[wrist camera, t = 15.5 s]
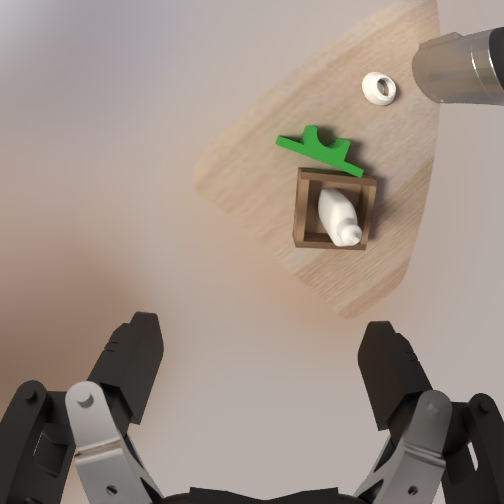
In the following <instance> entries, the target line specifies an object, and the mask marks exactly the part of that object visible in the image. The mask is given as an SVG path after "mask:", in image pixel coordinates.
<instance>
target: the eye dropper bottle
mask: <svg viewBox="0 0 504 504" xmlns="http://www.w3.org/2000/svg"><path fill="white" fill-rule="evenodd" d="M318 213H319V217H320V220H321V222H322V224H323V226H324V228H325V229H326V231H327V233H328V234H329V236H330V238H331V239H332V241H333V243H334V244H335V245H336V246H339V247H340V246H351V245H355V244H357V243H358V242H359V241H360V240H361V237H362V231H361V229H360V227H359V226H358V225H357V216H356V212H355V210H354V207H353V205H352V203H351V202H350V201H349V200H348V199H347V198H346V197H345V196H344V195H343V194H341V193H340V192H339V191H338V190H337V189H336V188H326V189H322V191H321V192H320V195H319V199H318Z"/></svg>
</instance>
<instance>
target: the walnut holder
mask: <svg viewBox="0 0 504 504" xmlns="http://www.w3.org/2000/svg"><path fill="white" fill-rule="evenodd" d="M376 187H377V180H376V179H375V178H373V177H371V176H369V175H367V174H362V177H361V178H359V177H357V176H355V175H352V174H350V173H348V172H342V171H333V170H322V169H311V168H298V178H297V191H296V203H295V215H294V226H293V239H294V243H295V246H296V247H299V248H323V249H345V250H366V245H367V240H368V235H369V230H370V224H371V219H372V213H373V207H374V201H375V194H376ZM326 188H336V189H337V190H338V191H339V192H340V193H341V194H343V195H344V196H345V197H346V198H347V199H348V200H349V201H350V202H351V203H352V205H353V207H354V210H355V212H356V216H357V225H358V226H359V227H360V229H361V231H362V237H361V240H360V241H359V242H358V243H357V244H355V245H351V246H340V247H339V246H336V245H335V244H334V243H333V241H332V239H331V238H330V236H329V234H328V233H327V231H326V229H325V228H324V226H323V224H322V222H321V220H320V217H319V213H318V199H319V195H320V192H321V191H322V189H326Z"/></svg>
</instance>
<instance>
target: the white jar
mask: <svg viewBox="0 0 504 504" xmlns="http://www.w3.org/2000/svg"><path fill="white" fill-rule="evenodd" d="M379 79H383V80H384V81H385V82H386V83H387V85H388V87H389V95H388V96H384V95H382V94H383V93H384V87H383V85H382V84H381V83H379V82H378V80H379ZM362 88H363V92H364V94H365V96H366V98H367V99H368V100H369V101H370V102H372V103H374V104H376V105H381V106H384V105H387V104H390V103H391V102H392V101H393V99H394V96H395V93H396V86H395V84H394V82H393V81H392V80H391V79H390V78H389V77H388V76H387V75H385V74H383V73H381V72H372V73H369V74H367V75H366V76H365V77H364V80H363V82H362Z"/></svg>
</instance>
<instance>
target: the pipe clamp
mask: <svg viewBox="0 0 504 504" xmlns="http://www.w3.org/2000/svg"><path fill="white" fill-rule="evenodd" d="M350 143H351V142H350V141H347V140H344V139H339V138H336V140H335V141H334V142H333V143H332V144H331V145H328V146H323V145H322V144H321V143H320V142H319V140H318V138H317V127H314V126H306V127H305V129H304V132H303V135H302V138H301V140H300V143H298V142H295V141H292V140H290V139H287V138H284V137H281V136H278V138H277V141H276V144H277V145H278V146H281V147H284V148H287V149H290V150H292V151H295V152H298V153H301V154H303V155H306V156H309V157H311V158H314V159H316V160H319V161H321V162H324V163H326V164H329V165H331V166H334V167H336V168H338V169H341V170H343V171H346V172H348V173H350V174H352V175H355V176H357V177H359V178H361V177H362V174H363V172H364V170H362V169H360V168H358V167H356V166H354V165H352V164H350V163H347V162H345V161H344V159H345V156H346V154H347V151H348V148H349V146H350Z"/></svg>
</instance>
